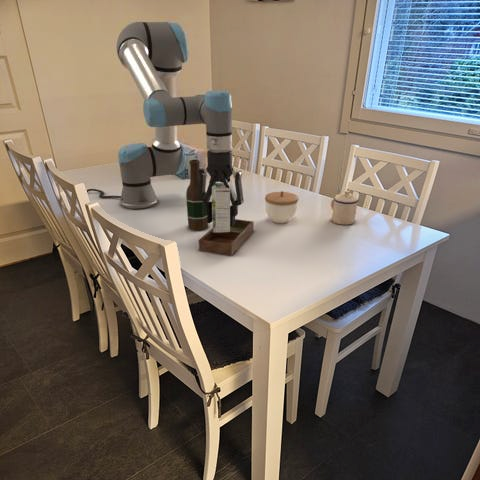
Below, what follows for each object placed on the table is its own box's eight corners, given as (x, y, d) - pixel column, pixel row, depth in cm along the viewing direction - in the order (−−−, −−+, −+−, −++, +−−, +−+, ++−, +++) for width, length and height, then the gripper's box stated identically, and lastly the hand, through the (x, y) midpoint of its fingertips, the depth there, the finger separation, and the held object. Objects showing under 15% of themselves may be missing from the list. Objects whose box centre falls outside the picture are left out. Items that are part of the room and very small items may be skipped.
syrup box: (212, 226, 141) (210, 182, 133) (229, 226, 141) (229, 182, 133) (212, 233, 136) (211, 188, 128) (231, 232, 136) (230, 187, 128)
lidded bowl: (275, 228, 156) (276, 198, 150) (258, 217, 165) (259, 189, 159) (303, 222, 161) (305, 193, 155) (285, 212, 170) (287, 184, 164)
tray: (199, 250, 139) (198, 240, 137) (224, 227, 157) (223, 217, 155) (231, 255, 136) (231, 245, 134) (253, 231, 153) (253, 221, 151)
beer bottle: (205, 231, 153) (202, 163, 140) (185, 230, 154) (180, 162, 141) (210, 224, 159) (208, 158, 146) (191, 222, 161) (187, 157, 147)
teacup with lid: (360, 222, 161) (365, 192, 154) (342, 227, 157) (346, 196, 150) (338, 213, 169) (342, 184, 163) (321, 217, 166) (324, 187, 159)
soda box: (154, 162, 239) (151, 138, 232) (177, 159, 245) (175, 135, 238) (182, 179, 210) (180, 152, 202) (207, 175, 215) (206, 149, 208)
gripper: (183, 149, 125) (188, 223, 137) (247, 155, 119) (246, 231, 132) (194, 145, 131) (198, 216, 143) (255, 149, 125) (254, 223, 138)
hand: (221, 223), depth 137 cm, fingers closed on syrup box, 7 cm apart
